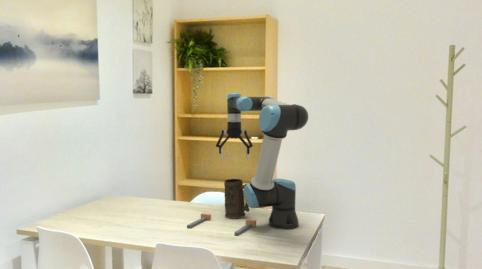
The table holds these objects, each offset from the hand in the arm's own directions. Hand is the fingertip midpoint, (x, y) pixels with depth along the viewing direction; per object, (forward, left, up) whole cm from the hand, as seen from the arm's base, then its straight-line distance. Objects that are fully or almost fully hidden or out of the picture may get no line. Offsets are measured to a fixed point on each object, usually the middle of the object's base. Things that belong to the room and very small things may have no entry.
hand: (234, 159), depth 245 cm
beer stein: (-6, +7, -30) cm, 31 cm away
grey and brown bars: (-6, +28, -30) cm, 41 cm away
